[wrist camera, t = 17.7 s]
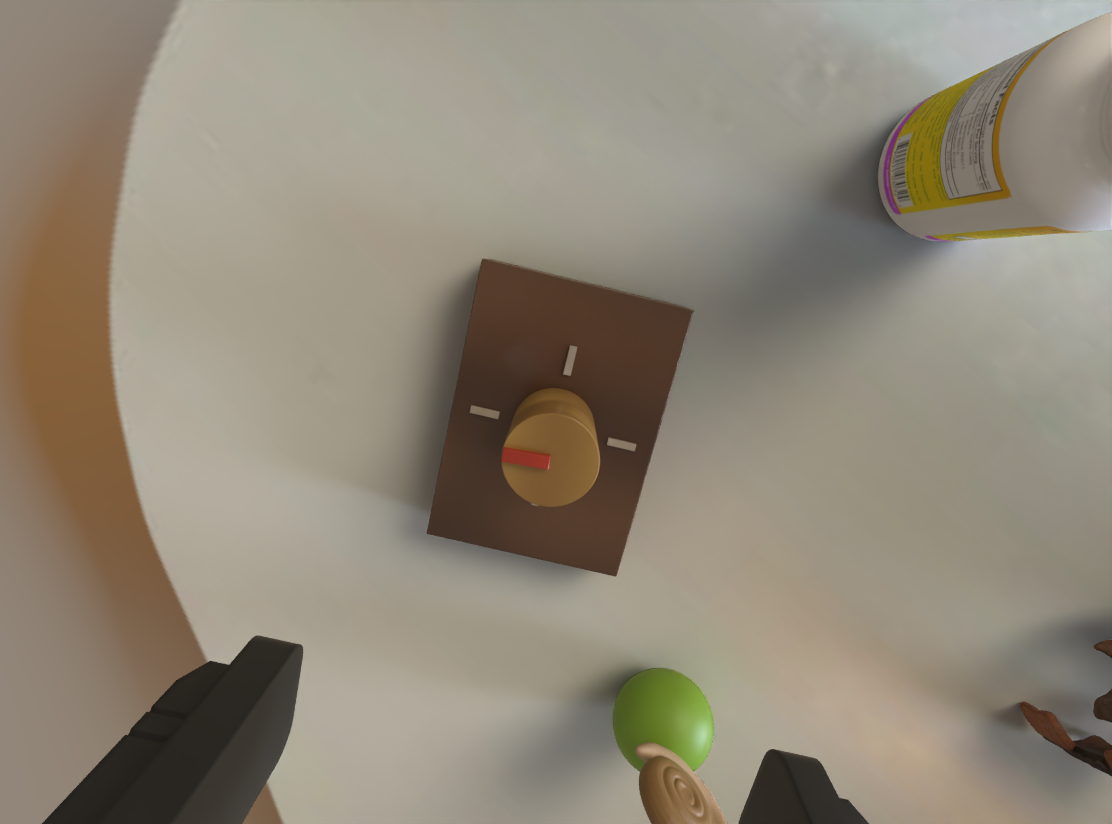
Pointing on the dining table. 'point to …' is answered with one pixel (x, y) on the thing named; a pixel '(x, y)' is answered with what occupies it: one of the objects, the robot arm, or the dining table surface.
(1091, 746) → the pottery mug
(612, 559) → the dial panel
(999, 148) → the supplement bottle
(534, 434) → the dial
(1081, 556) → the dining table surface
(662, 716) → the snail figurine
